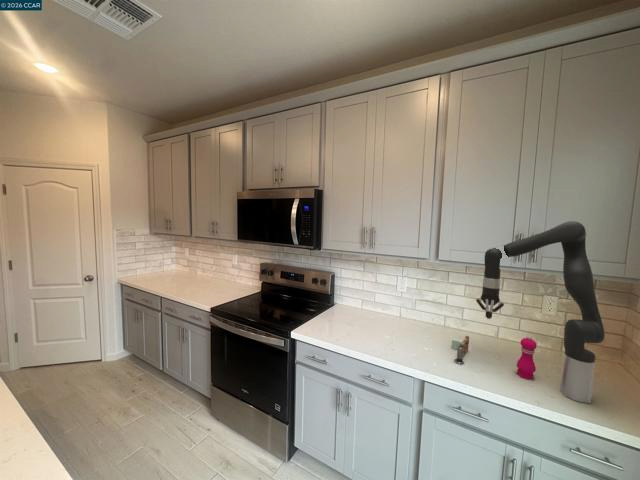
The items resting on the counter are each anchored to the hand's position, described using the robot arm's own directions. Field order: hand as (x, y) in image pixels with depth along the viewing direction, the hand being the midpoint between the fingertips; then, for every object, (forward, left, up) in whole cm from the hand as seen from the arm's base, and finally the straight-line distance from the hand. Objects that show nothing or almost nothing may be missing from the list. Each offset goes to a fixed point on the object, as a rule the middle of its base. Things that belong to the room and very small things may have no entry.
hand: (488, 318), depth 143 cm
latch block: (+13, 0, -22) cm, 25 cm away
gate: (+9, +6, -21) cm, 24 cm away
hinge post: (+10, +15, -22) cm, 28 cm away
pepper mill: (-17, +7, -22) cm, 29 cm away
